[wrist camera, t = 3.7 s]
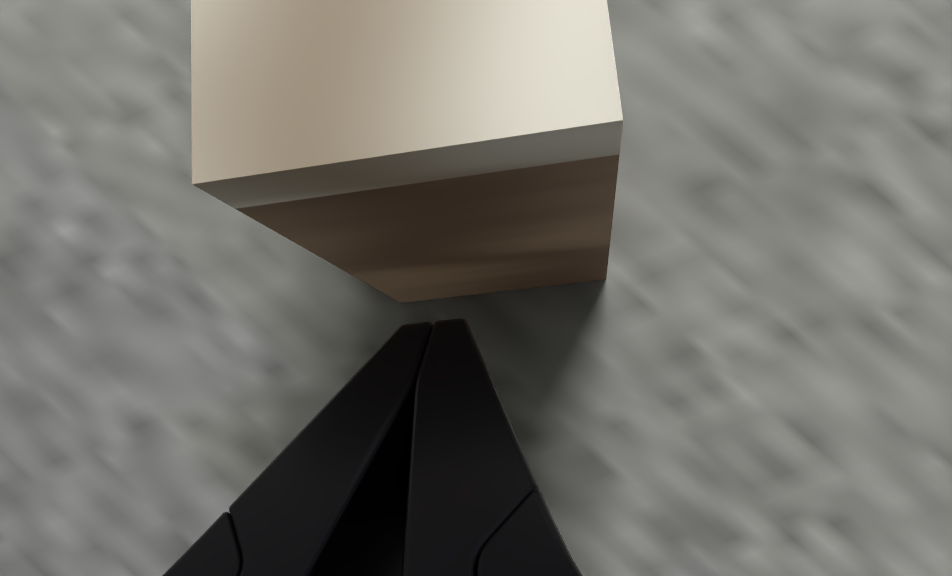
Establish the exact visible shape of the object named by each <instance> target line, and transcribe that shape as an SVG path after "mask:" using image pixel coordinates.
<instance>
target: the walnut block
mask: <svg viewBox="0 0 952 576" xmlns="http://www.w3.org/2000/svg"><path fill="white" fill-rule="evenodd" d="M191 71H192V184H193V185H195V186H196V187H198V188H200V189H202V190H203V191H205V192H207V193H209V194H210V195H212V196H214V197H216V198H217V199H219V200H221V201H223V202H224V203H226V204H228V205H230V206H231V207H233V208H235V209H237V210H238V211H240V212H242V213H244V214H246V215H247V216H249V217H251V218H253V219H254V220H256V221H258V222H260V223H261V224H263V225H265V226H267V227H268V228H270V229H272V230H274V231H275V232H277V233H279V234H281V235H282V236H284V237H286V238H288V239H289V240H291V241H293V242H295V243H297V244H298V245H300V246H302V247H304V248H305V249H307V250H309V251H311V252H312V253H314V254H316V255H318V256H319V257H321V258H323V259H325V260H326V261H328V262H330V263H332V264H333V265H335V266H337V267H339V268H340V269H342V270H344V271H346V272H348V273H349V274H351V275H353V276H355V277H356V278H358V279H360V280H362V281H363V282H365V283H367V284H369V285H370V286H372V287H374V288H376V289H377V290H379V291H381V292H383V293H384V294H386V295H388V296H390V297H391V298H393V299H395V300H397V301H399V302H400V303H404V302H413V301H422V300H430V299H439V298H448V297H456V296H465V295H474V294H483V293H491V292H500V291H509V290H517V289H526V288H535V287H543V286H552V285H561V284H569V283H578V282H587V281H595V280H604V279H606V275H607V265H608V256H609V247H610V237H611V228H612V219H613V209H614V200H615V191H616V181H617V172H618V163H619V153H620V144H621V134H622V125H623V116H622V109H621V101H620V94H619V87H618V79H617V72H616V65H615V57H614V50H613V43H612V35H611V28H610V21H609V13H608V6H607V0H191Z"/></svg>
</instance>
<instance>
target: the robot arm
mask: <svg viewBox="0 0 952 576" xmlns="http://www.w3.org/2000/svg"><path fill="white" fill-rule="evenodd" d="M229 512H230V513H228V512H225V513H223V514H222V515H221V516H220V517H219V518H218V519H217V520H216V521H215V522H214V524H213V525H212V526H211V527H210V528H209V529H208V530H207V531H206V532H205V533H204V534H203V535H202V536H201V537H200V538H199V539H198V540H197V541H196V542H195V543H194V544H193V545H192V546H191V547H190V548H189V549H188V550H187V551H186V552H185V553H184V554H183V555H182V556H181V557H180V558H179V559H178V560H177V562H176V563H175V564H174V565H173V566H172V567H171V568H170V569H169V570H168V571H167V572H166V573H165V574H164V575H163V576H582V575H581V573H580V571H579V569H578V568H577V566H576V564H575V562H574V561H573V559H572V557H571V555H570V554H569V551H568V549H567V547H566V545H565V543H564V541H563V539H562V537H561V535H560V533H559V531H558V529H557V527H556V525H555V523H554V521H553V519H552V516H551V514H550V512H549V509H548V507H547V505H546V502H545V500H544V498H543V495H542V493H541V492H540V491H539V487H538V485H537V482H536V480H535V478H534V475H533V473H532V471H531V469H530V466H529V464H528V462H527V459H526V457H525V455H524V452H523V450H522V448H521V445H520V443H519V441H518V439H517V436H516V434H515V432H514V429H513V427H512V425H511V422H510V420H509V418H508V416H507V413H506V411H505V409H504V406H503V404H502V402H501V399H500V397H499V395H498V392H497V390H496V388H495V386H494V383H493V381H492V379H491V376H490V374H489V372H488V369H487V367H486V365H485V362H484V360H483V358H482V356H481V353H480V351H479V349H478V346H477V344H476V342H475V339H474V337H473V335H472V333H471V330H470V328H469V326H468V323H467V321H466V320H465V319H461V318H460V319H451V320H442V321H437V322H436V323H434V325H433V324H432V323H430V322H424V323H415V324H406V325H403V326H401V327H400V328H399V329H398V330H397V331H396V332H395V333H394V334H393V335H392V336H391V337H390V338H389V339H388V340H387V341H386V342H385V343H384V344H383V345H382V346H381V348H380V349H379V350H378V351H377V352H376V353H375V354H374V355H373V356H372V357H371V358H370V359H369V360H368V361H367V362H366V363H365V364H364V365H363V367H362V368H361V369H360V370H359V371H358V372H357V373H356V374H355V375H354V376H353V377H352V378H351V379H350V380H349V381H348V382H347V383H346V384H345V386H344V387H343V388H342V389H341V390H340V391H339V392H338V393H337V394H336V395H335V396H334V397H333V398H332V399H331V400H330V401H329V402H328V403H327V405H326V406H325V407H324V408H323V409H322V410H321V411H320V412H319V413H318V414H317V415H316V416H315V417H314V418H313V419H312V420H311V421H310V422H309V424H308V425H307V426H306V427H305V428H304V429H303V430H302V431H301V432H300V433H299V434H298V435H297V436H296V437H295V438H294V439H293V440H292V441H291V443H290V444H289V445H288V446H287V447H286V448H285V449H284V450H283V451H282V452H281V453H280V454H279V455H278V456H277V457H276V458H275V459H274V460H273V462H272V463H271V464H270V465H269V466H268V467H267V468H266V469H265V470H264V471H263V472H262V473H261V474H260V475H259V476H258V477H257V478H256V480H255V481H254V482H253V483H252V484H251V485H250V486H249V487H248V488H247V489H246V490H245V491H244V492H243V493H242V494H241V495H240V496H239V497H238V499H237V500H236V501H235V502H234V503H233V504H232V505H231V506H230V508H229Z"/></svg>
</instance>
